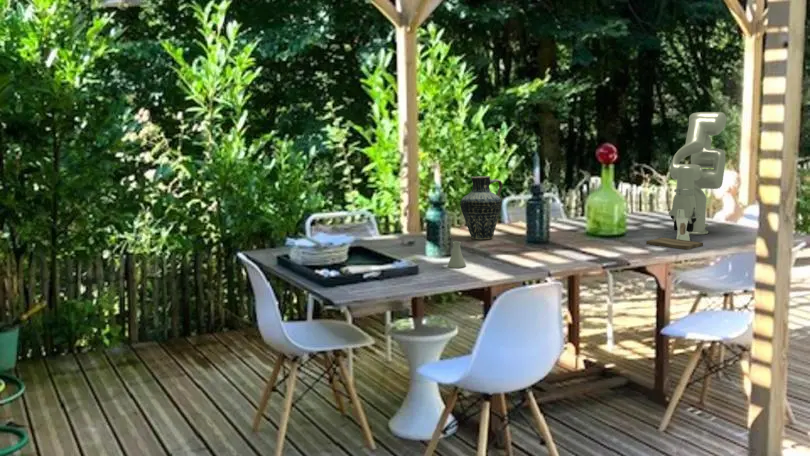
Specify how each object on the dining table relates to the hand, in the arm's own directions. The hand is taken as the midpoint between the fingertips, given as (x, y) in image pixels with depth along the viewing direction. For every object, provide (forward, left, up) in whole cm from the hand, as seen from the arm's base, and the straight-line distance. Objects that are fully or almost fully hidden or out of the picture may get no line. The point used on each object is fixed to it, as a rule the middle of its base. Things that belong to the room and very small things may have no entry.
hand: (683, 230), depth 382 cm
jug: (+63, -69, -5) cm, 94 cm away
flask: (+120, -28, -5) cm, 123 cm away
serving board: (+14, +4, -5) cm, 15 cm away
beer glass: (0, 0, -5) cm, 5 cm away
